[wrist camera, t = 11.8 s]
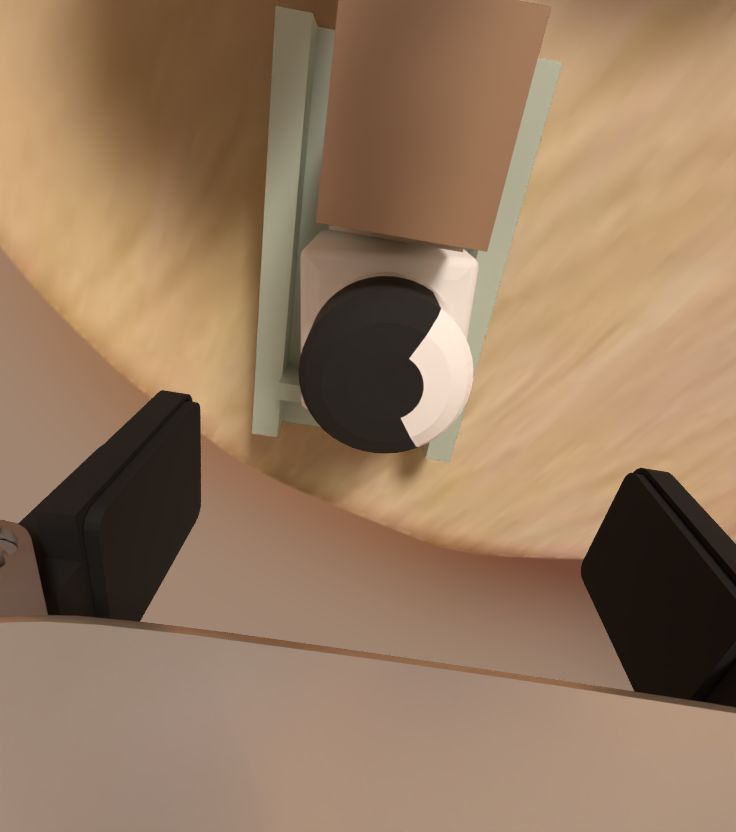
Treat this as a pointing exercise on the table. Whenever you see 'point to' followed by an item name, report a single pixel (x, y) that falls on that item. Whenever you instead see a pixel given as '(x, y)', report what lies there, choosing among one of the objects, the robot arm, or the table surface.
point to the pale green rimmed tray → (296, 225)
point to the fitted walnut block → (425, 116)
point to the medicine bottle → (384, 339)
